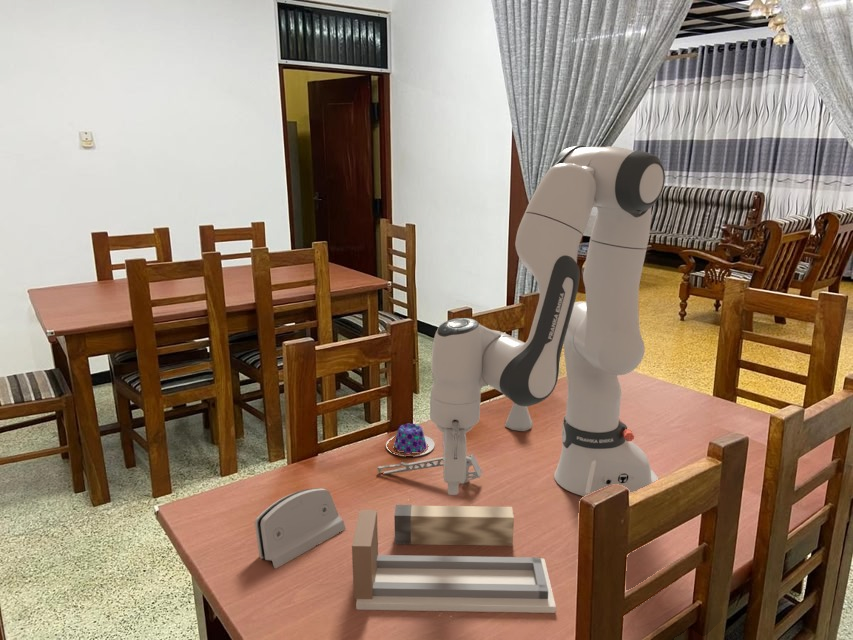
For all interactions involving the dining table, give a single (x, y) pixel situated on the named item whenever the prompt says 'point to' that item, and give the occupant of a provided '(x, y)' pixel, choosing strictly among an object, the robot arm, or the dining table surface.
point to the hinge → (296, 525)
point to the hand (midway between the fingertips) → (452, 479)
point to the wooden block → (454, 525)
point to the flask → (519, 418)
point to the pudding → (411, 439)
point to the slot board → (444, 579)
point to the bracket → (469, 461)
